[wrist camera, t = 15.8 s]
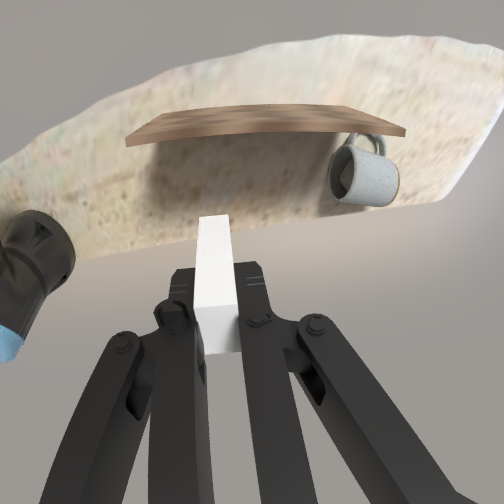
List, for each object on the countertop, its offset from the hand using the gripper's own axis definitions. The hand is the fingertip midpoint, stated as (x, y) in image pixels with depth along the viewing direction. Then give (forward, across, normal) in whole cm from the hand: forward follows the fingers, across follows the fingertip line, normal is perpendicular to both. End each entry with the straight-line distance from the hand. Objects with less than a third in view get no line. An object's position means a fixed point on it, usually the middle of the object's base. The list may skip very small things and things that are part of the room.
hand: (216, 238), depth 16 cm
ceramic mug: (+24, -20, +3) cm, 31 cm away
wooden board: (+24, -5, -4) cm, 25 cm away
